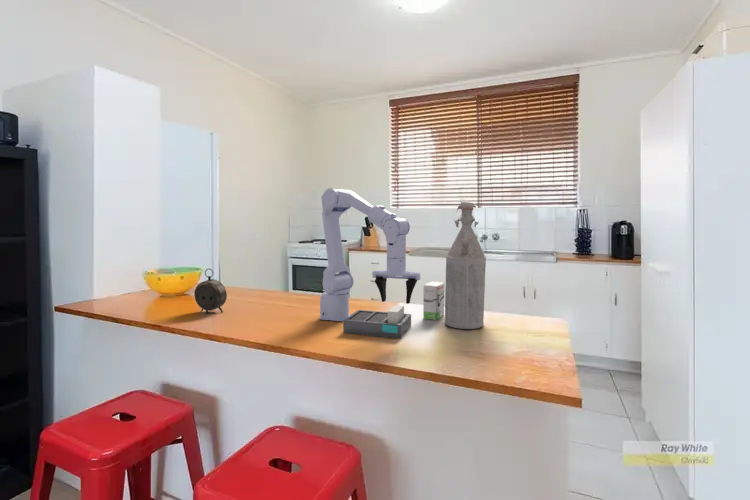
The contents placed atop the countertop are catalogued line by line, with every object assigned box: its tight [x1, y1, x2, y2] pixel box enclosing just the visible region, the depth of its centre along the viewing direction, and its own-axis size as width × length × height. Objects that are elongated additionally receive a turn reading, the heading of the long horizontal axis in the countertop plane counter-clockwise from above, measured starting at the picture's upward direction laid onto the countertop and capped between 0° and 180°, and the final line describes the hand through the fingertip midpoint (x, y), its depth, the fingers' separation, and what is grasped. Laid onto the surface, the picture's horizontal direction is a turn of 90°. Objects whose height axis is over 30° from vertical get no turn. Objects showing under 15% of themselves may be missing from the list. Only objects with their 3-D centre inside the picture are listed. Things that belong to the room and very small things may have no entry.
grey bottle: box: [444, 201, 487, 330], centre depth 126 cm, size 13×17×40 cm
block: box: [387, 304, 405, 324], centre depth 120 cm, size 3×8×6 cm, turn 162°
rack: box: [342, 309, 412, 340], centre depth 121 cm, size 18×13×4 cm
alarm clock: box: [194, 268, 228, 314], centre depth 142 cm, size 11×5×16 cm, turn 76°
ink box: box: [422, 280, 446, 321], centre depth 136 cm, size 9×5×12 cm, turn 151°
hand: (395, 302), depth 119 cm, fingers open, 7 cm apart
